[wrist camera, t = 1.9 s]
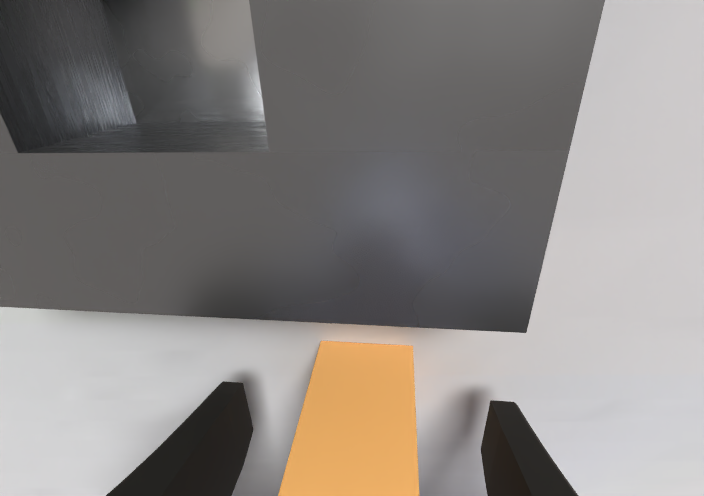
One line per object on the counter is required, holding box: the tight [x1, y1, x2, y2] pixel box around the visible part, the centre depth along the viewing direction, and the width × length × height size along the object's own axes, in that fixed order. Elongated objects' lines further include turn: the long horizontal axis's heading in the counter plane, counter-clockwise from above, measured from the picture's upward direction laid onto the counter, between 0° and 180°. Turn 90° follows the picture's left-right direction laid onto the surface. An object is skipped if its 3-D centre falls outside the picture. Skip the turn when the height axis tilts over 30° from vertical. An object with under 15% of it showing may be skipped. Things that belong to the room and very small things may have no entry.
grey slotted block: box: [0, 0, 605, 333], centre depth 6 cm, size 17×11×4 cm, turn 92°
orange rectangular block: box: [278, 341, 419, 496], centre depth 9 cm, size 3×3×6 cm
